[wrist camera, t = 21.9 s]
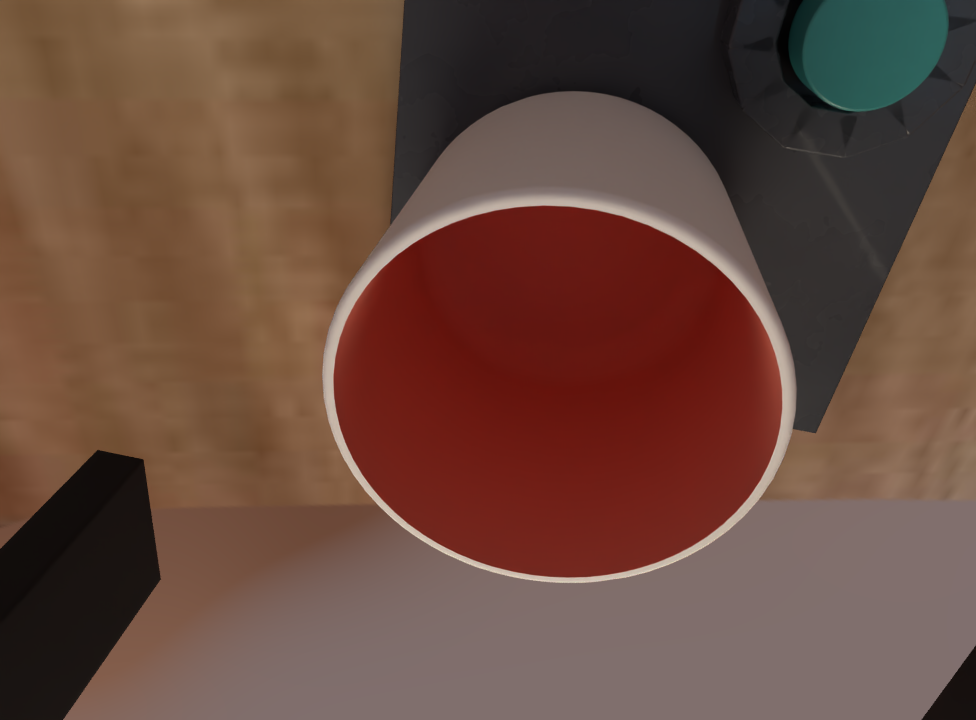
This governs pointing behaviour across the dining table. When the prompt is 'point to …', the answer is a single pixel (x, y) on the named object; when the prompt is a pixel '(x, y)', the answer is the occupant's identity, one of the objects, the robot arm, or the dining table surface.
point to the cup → (563, 349)
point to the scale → (712, 134)
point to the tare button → (866, 49)
